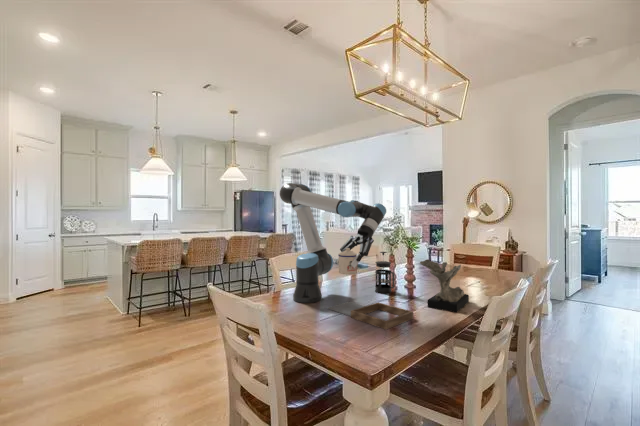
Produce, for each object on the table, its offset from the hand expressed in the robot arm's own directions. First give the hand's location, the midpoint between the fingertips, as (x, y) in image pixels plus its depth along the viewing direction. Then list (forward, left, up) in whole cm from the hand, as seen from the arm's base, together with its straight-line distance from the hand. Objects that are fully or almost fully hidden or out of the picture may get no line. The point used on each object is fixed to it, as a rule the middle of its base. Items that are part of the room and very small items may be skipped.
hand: (345, 264), depth 151 cm
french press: (-9, +41, -22) cm, 47 cm away
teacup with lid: (0, +3, -4) cm, 5 cm away
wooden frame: (+18, +4, -21) cm, 28 cm away
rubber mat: (0, +3, -21) cm, 22 cm away
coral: (+25, +43, -22) cm, 54 cm away
